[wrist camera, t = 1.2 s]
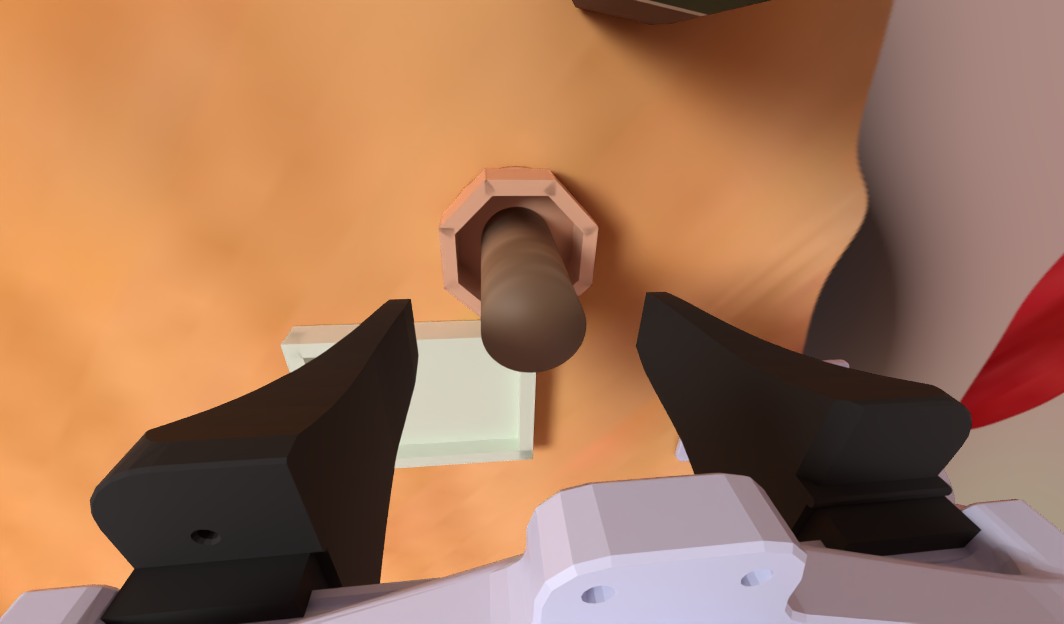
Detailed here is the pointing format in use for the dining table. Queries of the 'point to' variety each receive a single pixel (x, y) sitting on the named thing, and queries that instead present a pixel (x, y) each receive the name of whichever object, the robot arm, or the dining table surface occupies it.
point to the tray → (447, 395)
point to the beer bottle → (661, 8)
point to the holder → (503, 191)
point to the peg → (526, 294)
